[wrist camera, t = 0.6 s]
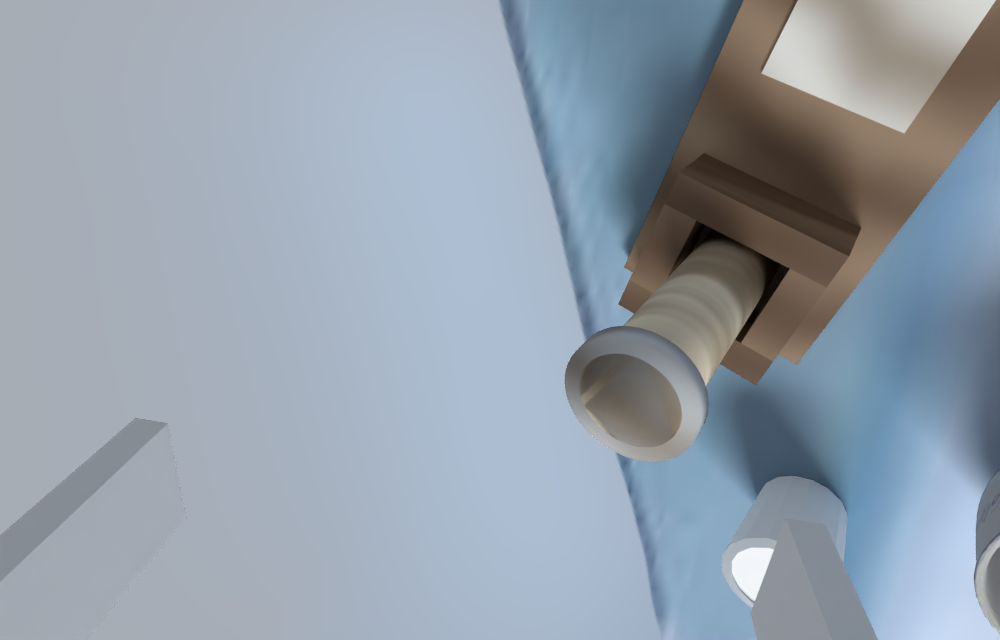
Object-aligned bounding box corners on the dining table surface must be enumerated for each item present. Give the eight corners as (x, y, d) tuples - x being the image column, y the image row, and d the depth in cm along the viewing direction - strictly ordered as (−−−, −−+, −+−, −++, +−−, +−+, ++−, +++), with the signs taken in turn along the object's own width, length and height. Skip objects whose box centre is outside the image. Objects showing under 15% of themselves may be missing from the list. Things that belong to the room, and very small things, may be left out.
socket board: (819, -159, 27) (794, -172, 24) (1124, -71, 24) (1148, -72, 20) (630, 261, 42) (597, 291, 38) (800, 356, 38) (780, 399, 35)
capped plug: (717, 190, 36) (590, 310, 24) (814, 238, 34) (727, 393, 22) (675, 270, 39) (548, 408, 28) (761, 318, 37) (663, 485, 26)
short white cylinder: (866, 557, 42) (849, 640, 37) (760, 540, 46) (732, 613, 41) (850, 472, 40) (830, 549, 35) (740, 463, 44) (709, 530, 39)
